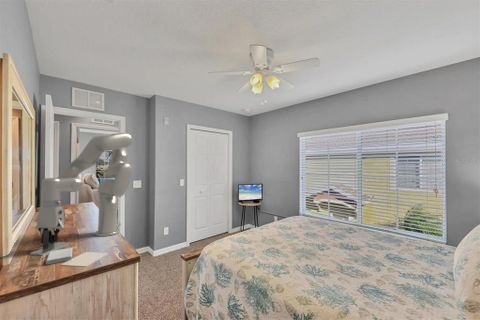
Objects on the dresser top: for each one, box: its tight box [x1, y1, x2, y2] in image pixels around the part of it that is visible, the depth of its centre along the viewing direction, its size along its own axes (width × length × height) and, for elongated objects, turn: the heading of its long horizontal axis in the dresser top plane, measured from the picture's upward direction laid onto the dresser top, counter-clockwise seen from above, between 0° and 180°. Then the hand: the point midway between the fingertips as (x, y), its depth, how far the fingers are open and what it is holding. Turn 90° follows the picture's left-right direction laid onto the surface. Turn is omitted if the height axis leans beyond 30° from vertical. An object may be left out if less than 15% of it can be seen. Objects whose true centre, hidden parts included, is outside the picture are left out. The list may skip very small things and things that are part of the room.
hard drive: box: [45, 247, 74, 265], centre depth 95 cm, size 2×8×12 cm
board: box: [60, 251, 109, 268], centre depth 94 cm, size 13×11×1 cm
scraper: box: [29, 228, 71, 256], centre depth 104 cm, size 6×14×9 cm, turn 175°
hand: (49, 241), depth 104 cm, fingers open, 3 cm apart
